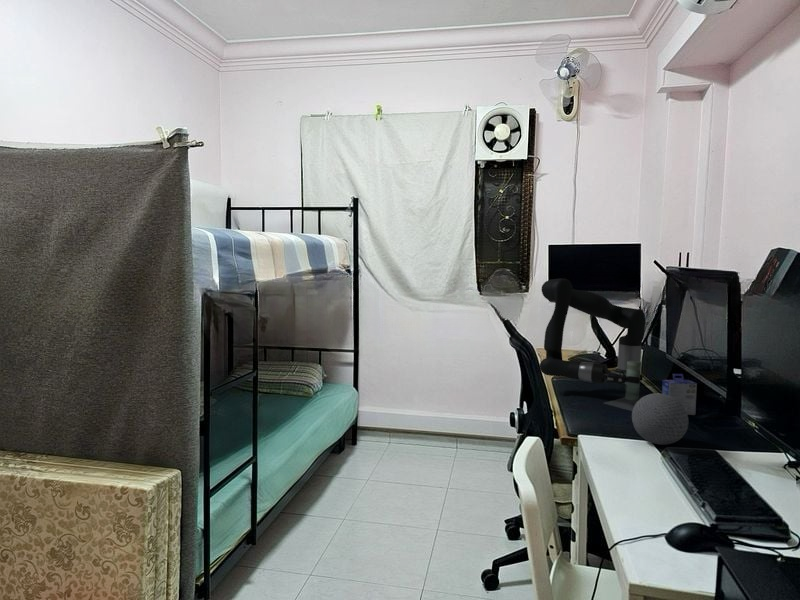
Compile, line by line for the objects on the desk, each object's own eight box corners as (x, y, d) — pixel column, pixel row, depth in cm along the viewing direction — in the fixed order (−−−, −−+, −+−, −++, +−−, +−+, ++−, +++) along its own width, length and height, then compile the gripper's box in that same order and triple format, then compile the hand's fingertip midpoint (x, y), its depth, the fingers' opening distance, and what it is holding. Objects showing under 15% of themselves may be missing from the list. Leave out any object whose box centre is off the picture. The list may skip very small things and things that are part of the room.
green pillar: (629, 396, 188) (631, 360, 187) (641, 399, 184) (643, 362, 183) (622, 398, 186) (624, 361, 184) (634, 401, 182) (636, 364, 181)
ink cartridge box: (687, 412, 180) (690, 373, 178) (696, 417, 174) (698, 376, 173) (659, 412, 180) (662, 372, 179) (667, 417, 174) (670, 376, 173)
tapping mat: (624, 399, 195) (624, 397, 195) (659, 409, 183) (659, 406, 183) (602, 405, 187) (602, 402, 187) (638, 415, 176) (638, 412, 175)
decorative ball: (671, 457, 139) (674, 404, 138) (620, 440, 151) (623, 392, 150) (696, 445, 148) (699, 396, 147) (646, 431, 160) (649, 385, 159)
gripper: (588, 366, 187) (637, 372, 177) (598, 359, 198) (645, 365, 188) (587, 385, 187) (636, 393, 177) (597, 378, 199) (644, 385, 189)
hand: (640, 379), depth 183 cm, fingers closed on green pillar, 4 cm apart
